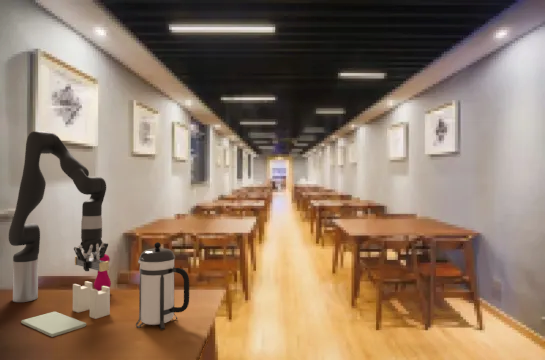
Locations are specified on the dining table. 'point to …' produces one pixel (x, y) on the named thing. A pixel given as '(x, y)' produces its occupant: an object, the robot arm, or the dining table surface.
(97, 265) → the rail
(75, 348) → the dining table surface
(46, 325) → the mat
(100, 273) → the pepper mill
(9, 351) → the dining table surface
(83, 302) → the post
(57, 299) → the dining table surface
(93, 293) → the post
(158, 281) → the coffee press
